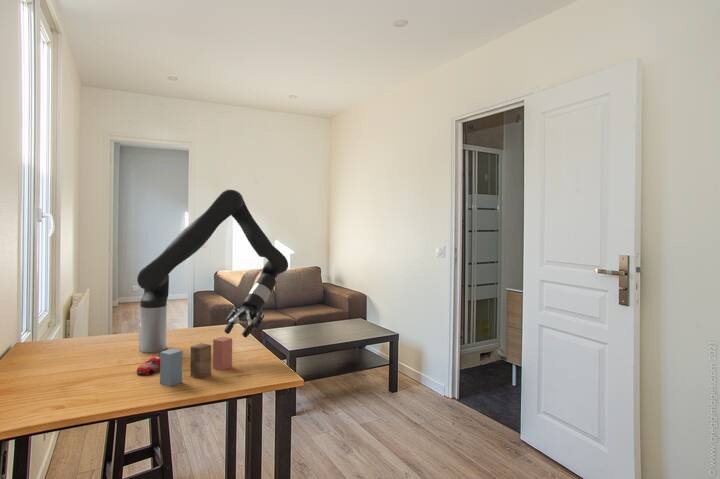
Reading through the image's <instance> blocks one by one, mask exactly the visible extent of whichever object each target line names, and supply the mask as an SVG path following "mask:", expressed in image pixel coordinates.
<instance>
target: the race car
mask: <svg viewBox="0 0 720 479" xmlns="http://www.w3.org/2000/svg"><path fill="white" fill-rule="evenodd" d="M158 371H159V372H160V355H156V356H153V357H151V358H149V359H148V360H147V361H144V363H143V364H141V365H140V366H138V367H137V368H136V374H137V375H143V376H146V375H148V376H149V375H153V374H154V373H157V372H158Z"/></svg>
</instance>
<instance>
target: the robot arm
mask: <svg viewBox="0 0 720 479" xmlns="http://www.w3.org/2000/svg"><path fill="white" fill-rule="evenodd" d="M230 217H232V218H233V219H234V220H235V221H236V223H237V224H238V225H239V227H240V229H241V231H242V232H243V234H244V236H245V237H246V239H247V241H248V243H249V244H250V246H251V247H252V248H253V250H254V251H255V253H256V254H257V255H258V257H261V258H265V259H266V260H267V261H266V262H265V264H264V266H263V267H262V271H261V272H260V276H258V278H257V280H256V282H255V283H254V285H253V286H252V287H251V289H249V292H248V293H247V295H246V296H245V298H244V300H243V302H242V306H241V307H240V308H237V307H236V306H234V307H233V308H232V310H231V311H230V313H229V314H228V315H227V317H226V318H225V320H226V321H227V322H228V323H227V324H226V326H225V328H224V333H226V334H227V335H229V334H230V333H231V332H232V330H233V328H234V326H236V325H237V324H240V323H241V322H245V323H247V325H246V327H245V328H244V329H243V331H242V336H243V338H248V336H249V335H250V333H251V332H252V330H254V329H258V328H259V327H260V326H261V323H262V322H263V319H264V318H265V314H264V312H263V311H262V310H263V308H264V306H265V305H266V303H267V301H268V299H269V298H270V295H271V294H272V292H273V290H274V288H275V286H276V284H277V280H276V279H277V277H278V275H280V274H281V275H282V273H285V272H286V271H287V270H288V268H289V261H288V260H287V257H286V256H285V255H284V253H282V252H281V251H280V250H278V248H276V247H275V246H274V245H273V244H272V242H271V241H270V239H269V238H268V236H267V235H266V234H265V232H264V231H263V230H262V228H261V227H260V225H259V224H258V222H256V220H255V218H254V217H253V215H252V214H251V212H250V211H249V209H248V207H247V204H246V202H245V200H244V196H243V195H242V194H241V193H240V192H239V191H238V190H235V189H225V190H223V191H221V192H220V193H219V195H218V196H217V197H216V198H215V199H214V201H213V202H212V203H211V204H210V206H209V207H207V209H206V210H205V211H203V213H202V214H200V216H198V217H197V218H196V219H194V220H193V221H192V222H191V223H189V224H188V225H187V226H186V227H185V228H184V229H183V230H182V231H181V232H180V233H179V234H178V235H177V236H176V237H175V239H173V240H172V241H171V243H169V244H168V246H166V247H165V249H164V250H163V251H162V252H161V253H160V254H159V255H158V256H157V257H156V258H154V259H153V260H152V261H150V262H149V263H148V264H147V265H146V266H144V267H143V268H141V270H140V271H139V272H138V275H137V280H136V281H137V284H138V286H139V287H140V288H141V289H143V295H142V297H141V298H140V318H139V319H140V322H139V323H140V324H139V326H138V350H140V352H142V353H157V352H162V351H166V349H167V329H168V328H167V324H168V323H167V320H168V318H167V317H168V316H167V314H168V313H167V311H168V310H167V306H168V304H167V301H168V298H169V289H170V288H169V287H170V286H169V285H170V273H172V271H173V270H174V269H175V268H176V267H177V266H179V265H180V264H182V263H183V262H185V261H187V259H189V258H190V257H192V256H193V255H194V254H195V253H197V252H198V251H199V250H200V249H201V248H202V247H203V246H204V245H205V244H206V243H207V241H208V240H209V239H210V238H211V237H212V235H213V234H214V232H215V231H217V230H216V229H218V227H219V226H220V225H221V224H222V223H223V222H224V221H226V219H228V218H230Z"/></svg>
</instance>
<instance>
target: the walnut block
mask: <svg viewBox="0 0 720 479" xmlns="http://www.w3.org/2000/svg"><path fill="white" fill-rule="evenodd" d="M189 373H190V377H191V378H195V379H198V380H202V379H205V378H207V377H210V376H212V344H208V343H202V342H201V343H197V344H193V345H191V346H190V372H189Z"/></svg>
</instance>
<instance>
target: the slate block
mask: <svg viewBox="0 0 720 479" xmlns="http://www.w3.org/2000/svg"><path fill="white" fill-rule="evenodd" d="M159 354H160V355H159V356H160V370H159V377H160V378H159V384H161V385H164V386H167V387H172V386H175V385H177V384H180V383H182V382H183V350H181V349H176V348H170V349H167V350H166V349H165V350H162V351H159Z"/></svg>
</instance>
